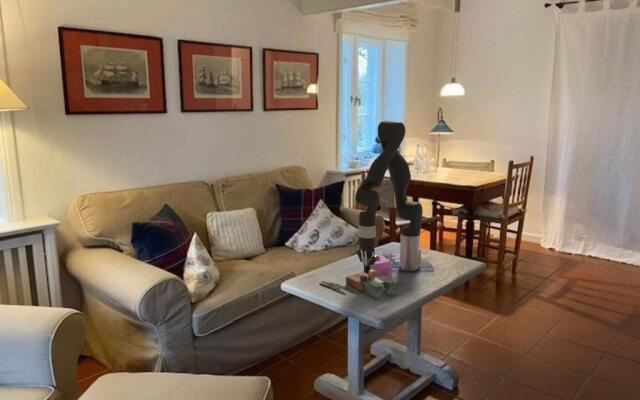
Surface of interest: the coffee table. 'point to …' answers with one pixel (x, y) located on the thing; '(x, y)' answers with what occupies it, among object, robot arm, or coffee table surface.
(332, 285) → the driftwood
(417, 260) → the robot arm
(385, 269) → the teapot
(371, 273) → the yellow-capped grey beam
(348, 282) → the block set
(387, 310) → the coffee table surface
